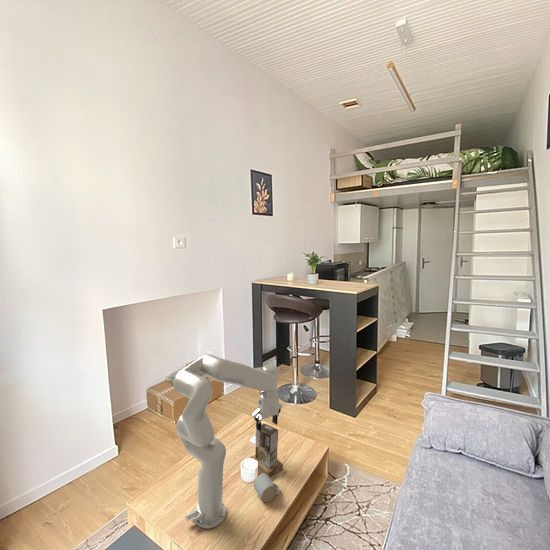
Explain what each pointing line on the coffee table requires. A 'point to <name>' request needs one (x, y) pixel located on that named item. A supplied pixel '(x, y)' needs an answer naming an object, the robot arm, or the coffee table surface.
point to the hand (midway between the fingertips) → (266, 426)
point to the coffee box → (266, 445)
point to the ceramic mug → (265, 487)
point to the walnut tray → (269, 471)
